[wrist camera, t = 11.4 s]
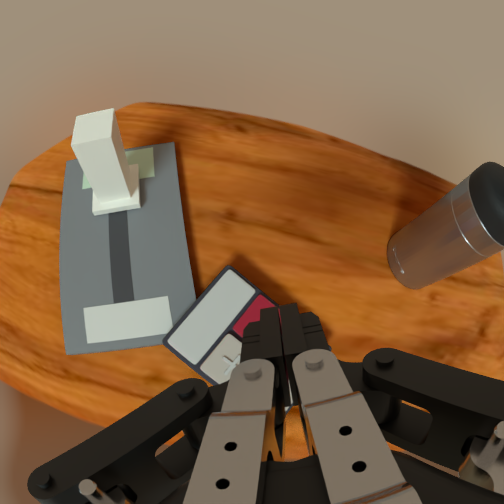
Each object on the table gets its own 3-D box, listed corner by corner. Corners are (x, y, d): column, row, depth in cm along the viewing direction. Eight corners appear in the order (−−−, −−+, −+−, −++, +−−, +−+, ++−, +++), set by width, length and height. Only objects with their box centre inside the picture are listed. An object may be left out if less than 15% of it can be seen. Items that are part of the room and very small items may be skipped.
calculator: (277, 430, 27) (159, 341, 27) (266, 421, 31) (162, 342, 31) (336, 348, 31) (229, 260, 31) (320, 349, 35) (224, 271, 35)
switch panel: (174, 148, 40) (174, 141, 39) (203, 337, 32) (203, 336, 31) (69, 167, 36) (66, 160, 35) (71, 354, 28) (65, 354, 27)
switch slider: (138, 168, 36) (124, 100, 25) (140, 207, 34) (121, 143, 23) (95, 175, 35) (69, 112, 24) (94, 215, 33) (60, 156, 22)
